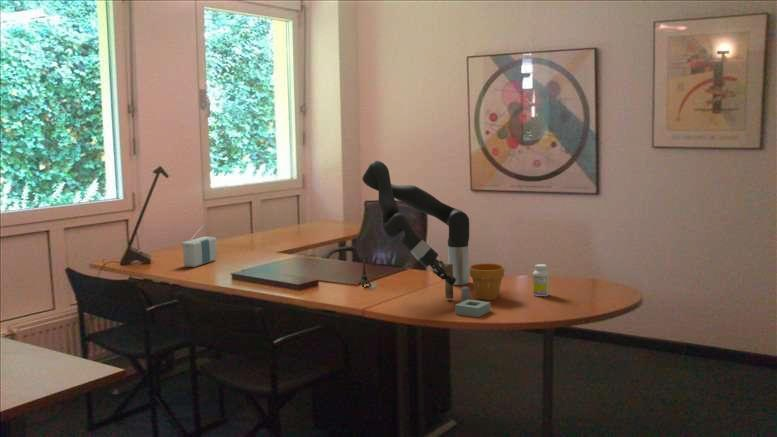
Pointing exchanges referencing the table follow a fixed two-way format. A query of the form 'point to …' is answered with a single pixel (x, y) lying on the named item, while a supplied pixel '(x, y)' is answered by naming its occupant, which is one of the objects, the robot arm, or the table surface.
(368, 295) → the table surface
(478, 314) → the hole block
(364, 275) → the eiffel tower figurine
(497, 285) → the flower pot
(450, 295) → the walnut peg
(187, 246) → the stereo radio cassette player
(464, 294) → the short grey peg
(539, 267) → the supplement bottle
